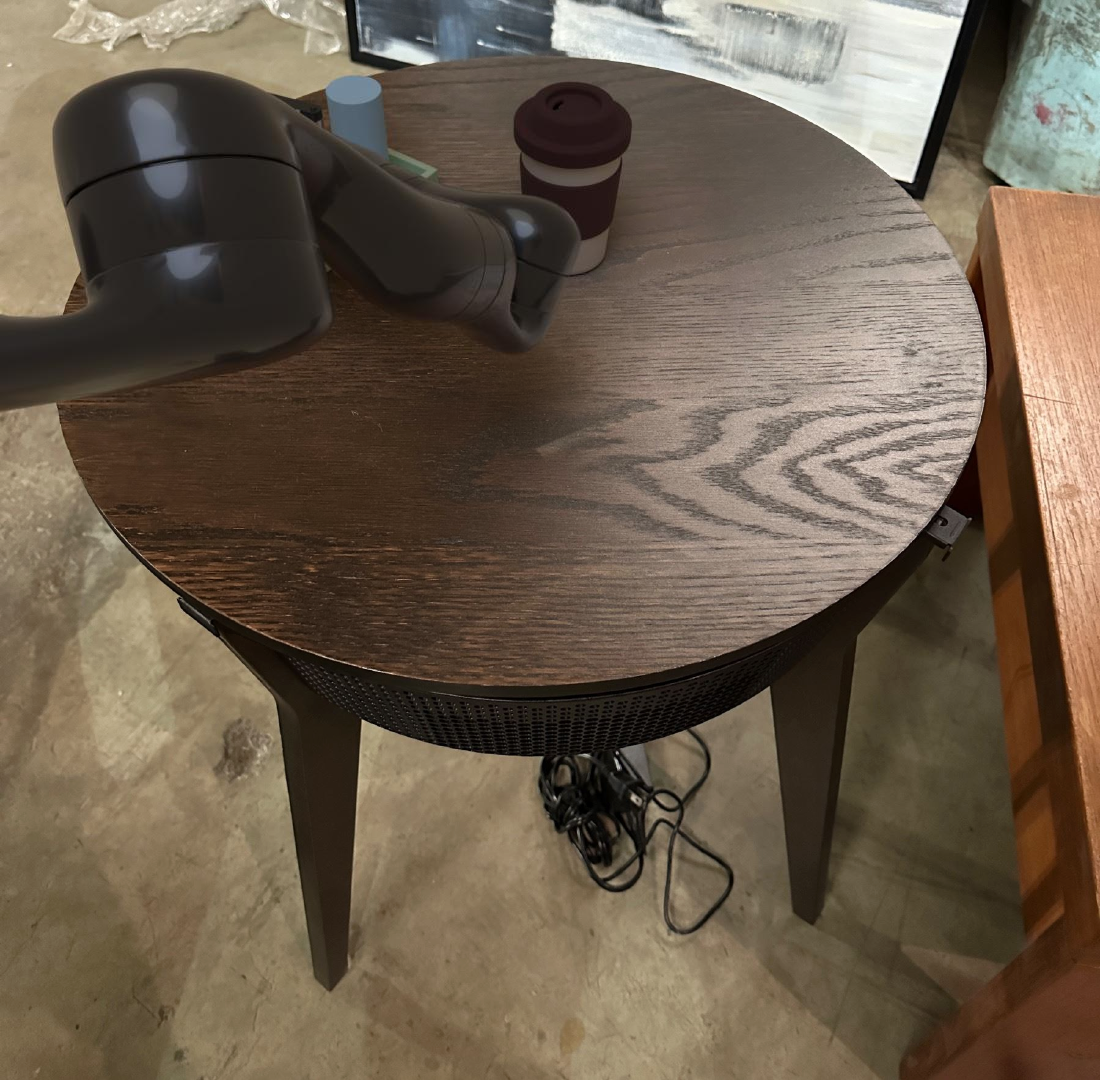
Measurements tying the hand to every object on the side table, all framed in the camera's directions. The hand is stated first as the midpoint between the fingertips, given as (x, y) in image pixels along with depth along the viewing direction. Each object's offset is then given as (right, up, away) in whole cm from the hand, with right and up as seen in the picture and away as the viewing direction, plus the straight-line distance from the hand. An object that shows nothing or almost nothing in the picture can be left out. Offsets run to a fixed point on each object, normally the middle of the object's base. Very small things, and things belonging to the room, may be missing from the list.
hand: (170, 117), depth 81 cm
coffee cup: (+31, -6, +16) cm, 36 cm away
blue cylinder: (+12, +2, +20) cm, 23 cm away
